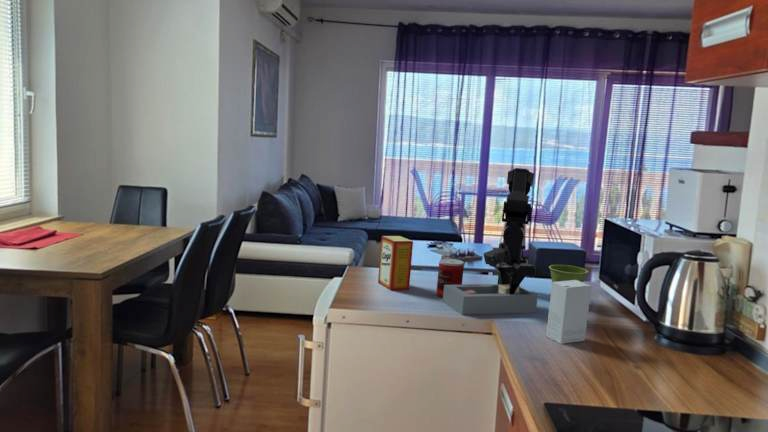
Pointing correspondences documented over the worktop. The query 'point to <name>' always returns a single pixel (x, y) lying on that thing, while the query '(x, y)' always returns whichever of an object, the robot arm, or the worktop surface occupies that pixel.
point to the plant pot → (567, 273)
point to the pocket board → (488, 300)
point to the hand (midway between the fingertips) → (507, 292)
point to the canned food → (449, 274)
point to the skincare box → (568, 311)
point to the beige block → (507, 289)
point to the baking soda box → (395, 262)
